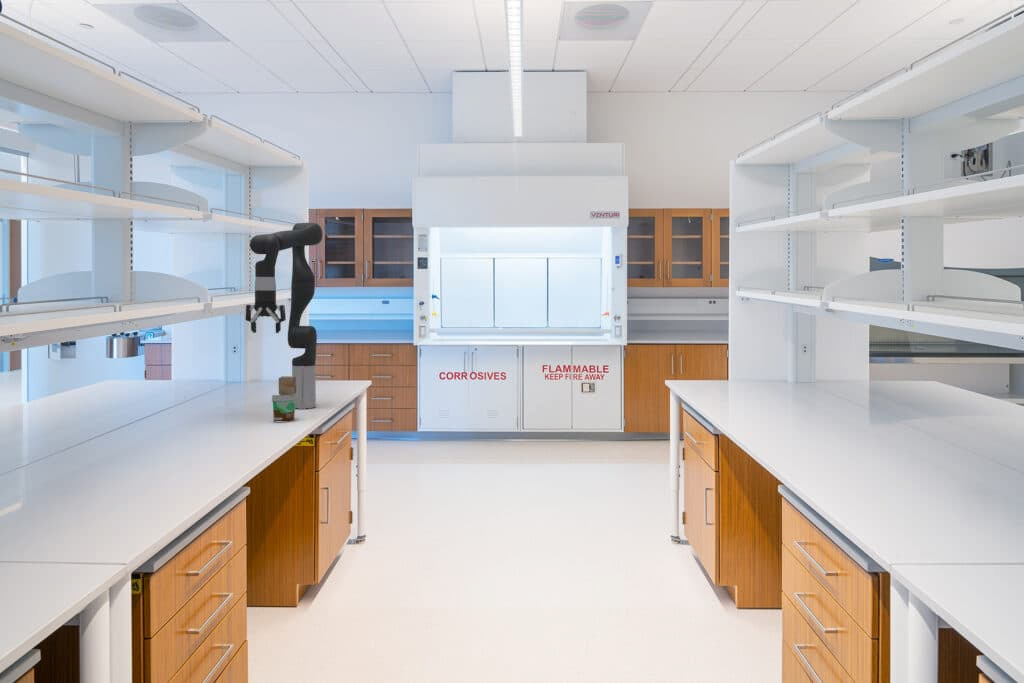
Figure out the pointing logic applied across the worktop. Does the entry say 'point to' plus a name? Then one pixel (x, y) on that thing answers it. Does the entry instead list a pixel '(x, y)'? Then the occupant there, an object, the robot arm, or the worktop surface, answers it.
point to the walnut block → (287, 385)
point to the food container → (284, 407)
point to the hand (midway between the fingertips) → (265, 332)
